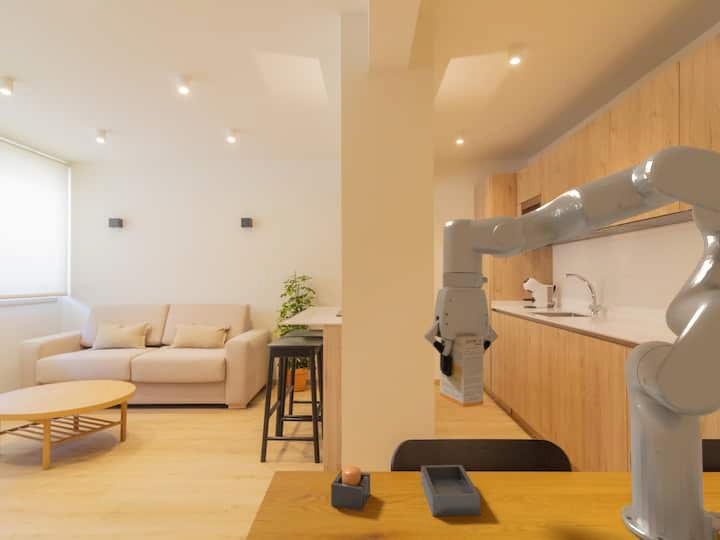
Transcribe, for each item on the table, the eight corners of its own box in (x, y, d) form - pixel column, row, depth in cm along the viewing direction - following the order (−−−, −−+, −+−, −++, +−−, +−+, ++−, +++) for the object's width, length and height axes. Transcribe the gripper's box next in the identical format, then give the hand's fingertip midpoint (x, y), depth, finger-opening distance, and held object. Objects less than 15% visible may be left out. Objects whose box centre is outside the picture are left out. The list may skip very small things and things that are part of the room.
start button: (362, 488, 76) (362, 467, 76) (357, 498, 73) (357, 476, 73) (345, 485, 77) (345, 465, 77) (339, 495, 74) (339, 474, 74)
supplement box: (484, 405, 73) (485, 336, 73) (463, 408, 71) (464, 337, 72) (458, 393, 81) (458, 330, 81) (438, 395, 79) (439, 331, 79)
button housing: (370, 493, 77) (370, 473, 77) (361, 511, 71) (361, 489, 71) (341, 489, 79) (341, 469, 79) (331, 505, 73) (331, 484, 73)
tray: (461, 481, 81) (461, 464, 81) (480, 515, 70) (479, 495, 70) (421, 482, 81) (421, 465, 81) (432, 516, 69) (432, 496, 70)
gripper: (491, 282, 82) (491, 368, 81) (414, 281, 79) (413, 371, 78) (512, 283, 74) (511, 377, 74) (427, 282, 71) (426, 380, 71)
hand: (461, 373), depth 76 cm, fingers closed on supplement box, 5 cm apart
